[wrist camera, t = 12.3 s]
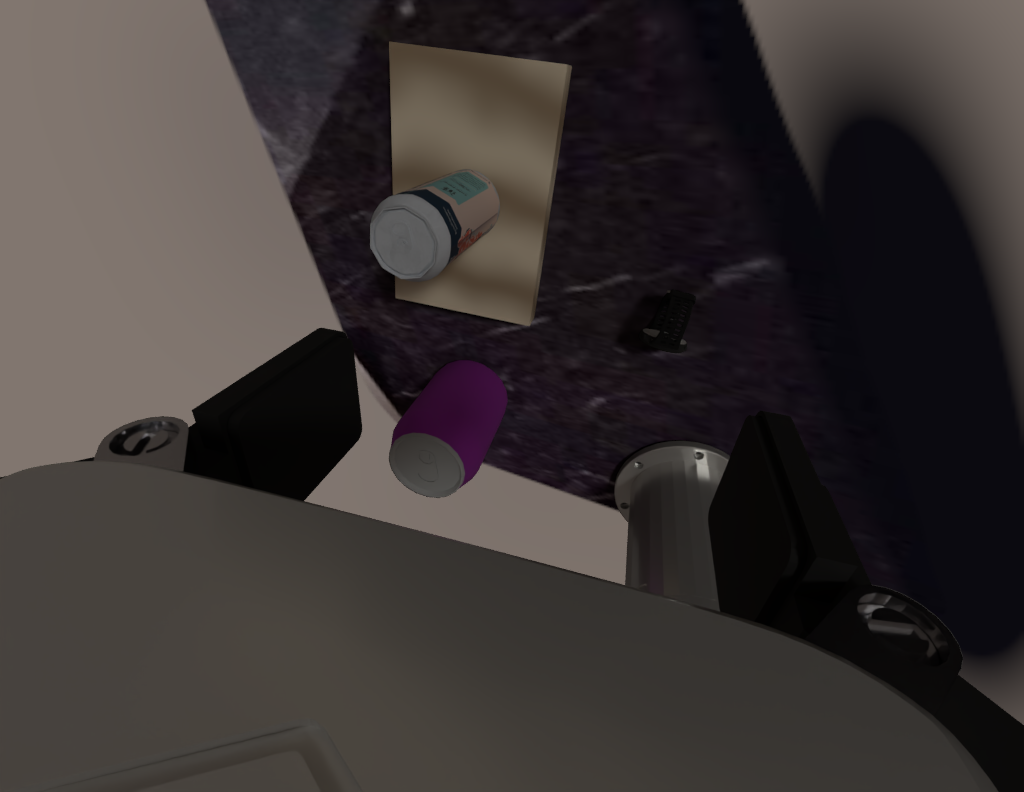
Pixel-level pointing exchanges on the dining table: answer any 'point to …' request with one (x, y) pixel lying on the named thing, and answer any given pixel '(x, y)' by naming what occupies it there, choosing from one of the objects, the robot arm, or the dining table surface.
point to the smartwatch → (665, 336)
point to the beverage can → (448, 429)
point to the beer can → (433, 224)
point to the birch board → (481, 165)
